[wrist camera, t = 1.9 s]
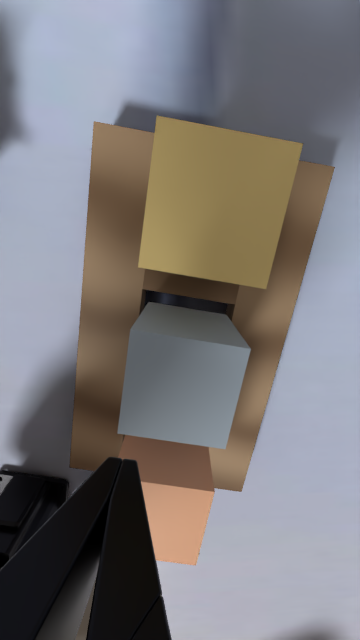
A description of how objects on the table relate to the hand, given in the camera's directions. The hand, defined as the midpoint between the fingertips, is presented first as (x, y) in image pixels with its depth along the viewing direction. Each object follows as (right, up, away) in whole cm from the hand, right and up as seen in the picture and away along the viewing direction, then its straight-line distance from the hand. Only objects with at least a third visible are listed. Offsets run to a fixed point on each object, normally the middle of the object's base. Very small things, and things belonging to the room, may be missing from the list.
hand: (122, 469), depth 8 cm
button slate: (+2, +3, +9) cm, 10 cm away
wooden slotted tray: (+2, +4, +12) cm, 13 cm away
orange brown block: (+1, -4, +11) cm, 12 cm away
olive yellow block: (+3, +10, +7) cm, 13 cm away
